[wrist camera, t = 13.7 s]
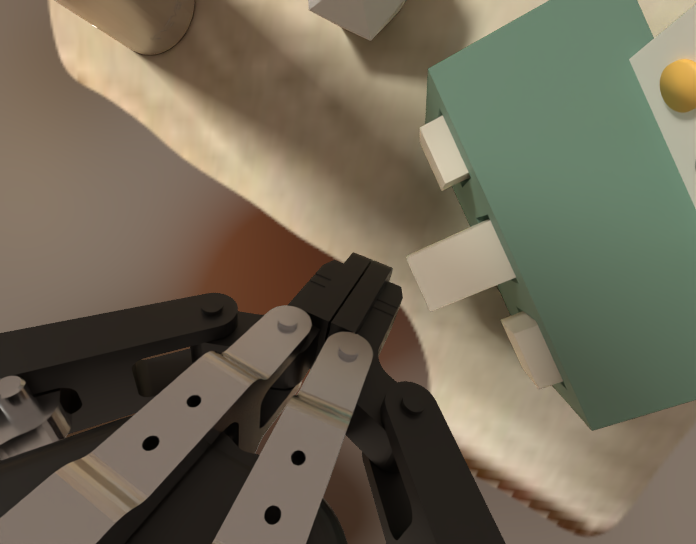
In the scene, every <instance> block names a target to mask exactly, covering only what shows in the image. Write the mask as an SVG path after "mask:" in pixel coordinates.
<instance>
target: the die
mask: <svg viewBox="0 0 696 544" xmlns="http://www.w3.org/2000/svg"><path fill="white" fill-rule="evenodd" d="M405 1H406V0H308V2H309V10H310V11H312V12H314V13H316V14H317V15H319V16H321V17H323V18H325V19H327V20H329V21H330V22H332V23H334V24H336V25H338V26H340V27H342V28H344V29H346V30H348V31H350V32H352V33H355V34H357V35H359V36H361V37H363V38H365V39H367V40H370V41H371V40H372V39H373V38H374V37H375V36H376V35H377V34H378V33H379V32H380V31H381V30H382V29H383V28H384V27H385V26H386V25H387V24H388V23H389V22H390V20H391V19H392V18H393V17H394V16H395V15H396V14H397V13H398V12H399V11H400V10H401V8H402V6H403V5H404V3H405Z"/></svg>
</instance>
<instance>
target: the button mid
mask: <svg viewBox="0 0 696 544" xmlns="http://www.w3.org/2000/svg"><path fill="white" fill-rule="evenodd" d="M406 260H407V262H408V264H409V266H410V269H411V271H412V273H413V275H414V277H415V280H416V282H417V284H418V286H419V288H420V291H421V293H422V295H423V297H424V299H425V301H426V304H427V306H428V308H429V310H430V312H432V311H434V310H437V309H439V308H442V307H444V306H447V305H449V304H452V303H454V302H456V301H459V300H461V299H464V298H466V297H469V296H471V295H474V294H476V293H479V292H481V291H484V290H486V289H489V288H491V287H493V286H496V285H498V284H501V283H503V282H506V281H508V280H511V279H513V278H516V276H515V274H514V272H513V269H512V267H511V265H510V263H509V261H508V258H507V256H506V254H505V252H504V249H503V247H502V245H501V243H500V241H499V238H498V236H497V234H496V232H495V230H494V227H493V225H492V223H491V221H490V219H488V220H485V221H482V222H480V223H478V224H476V225H474V226H471V227H469V228H467V229H465V230H462V231H460V232H458V233H456V234H454V235H451V236H449V237H447V238H445V239H442V240H440V241H438V242H436V243H433V244H431V245H429V246H427V247H425V248H422V249H420V250H418V251H416V252H413V253H411V254H409V255H407V257H406Z"/></svg>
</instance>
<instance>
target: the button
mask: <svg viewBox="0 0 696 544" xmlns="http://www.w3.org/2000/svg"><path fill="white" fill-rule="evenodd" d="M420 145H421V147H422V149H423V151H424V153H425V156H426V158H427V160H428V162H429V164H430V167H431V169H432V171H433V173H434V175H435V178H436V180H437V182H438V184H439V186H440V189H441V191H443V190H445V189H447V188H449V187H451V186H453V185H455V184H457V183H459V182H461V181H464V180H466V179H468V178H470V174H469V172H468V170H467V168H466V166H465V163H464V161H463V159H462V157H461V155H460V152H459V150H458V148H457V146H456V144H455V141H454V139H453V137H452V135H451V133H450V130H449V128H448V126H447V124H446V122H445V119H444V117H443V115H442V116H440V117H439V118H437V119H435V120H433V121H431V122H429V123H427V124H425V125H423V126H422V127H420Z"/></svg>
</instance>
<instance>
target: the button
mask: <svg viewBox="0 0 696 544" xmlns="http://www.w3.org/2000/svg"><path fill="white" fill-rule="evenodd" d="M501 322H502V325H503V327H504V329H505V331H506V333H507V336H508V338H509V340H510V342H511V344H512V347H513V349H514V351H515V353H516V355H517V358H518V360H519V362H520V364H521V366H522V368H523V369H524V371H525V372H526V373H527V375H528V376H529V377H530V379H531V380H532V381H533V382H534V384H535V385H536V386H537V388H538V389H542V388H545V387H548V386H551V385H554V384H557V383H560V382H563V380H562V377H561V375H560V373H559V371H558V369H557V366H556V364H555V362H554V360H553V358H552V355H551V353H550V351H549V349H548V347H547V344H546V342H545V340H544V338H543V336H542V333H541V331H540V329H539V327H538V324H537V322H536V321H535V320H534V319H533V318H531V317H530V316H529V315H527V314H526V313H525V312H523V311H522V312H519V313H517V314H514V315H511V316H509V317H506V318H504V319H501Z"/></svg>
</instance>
